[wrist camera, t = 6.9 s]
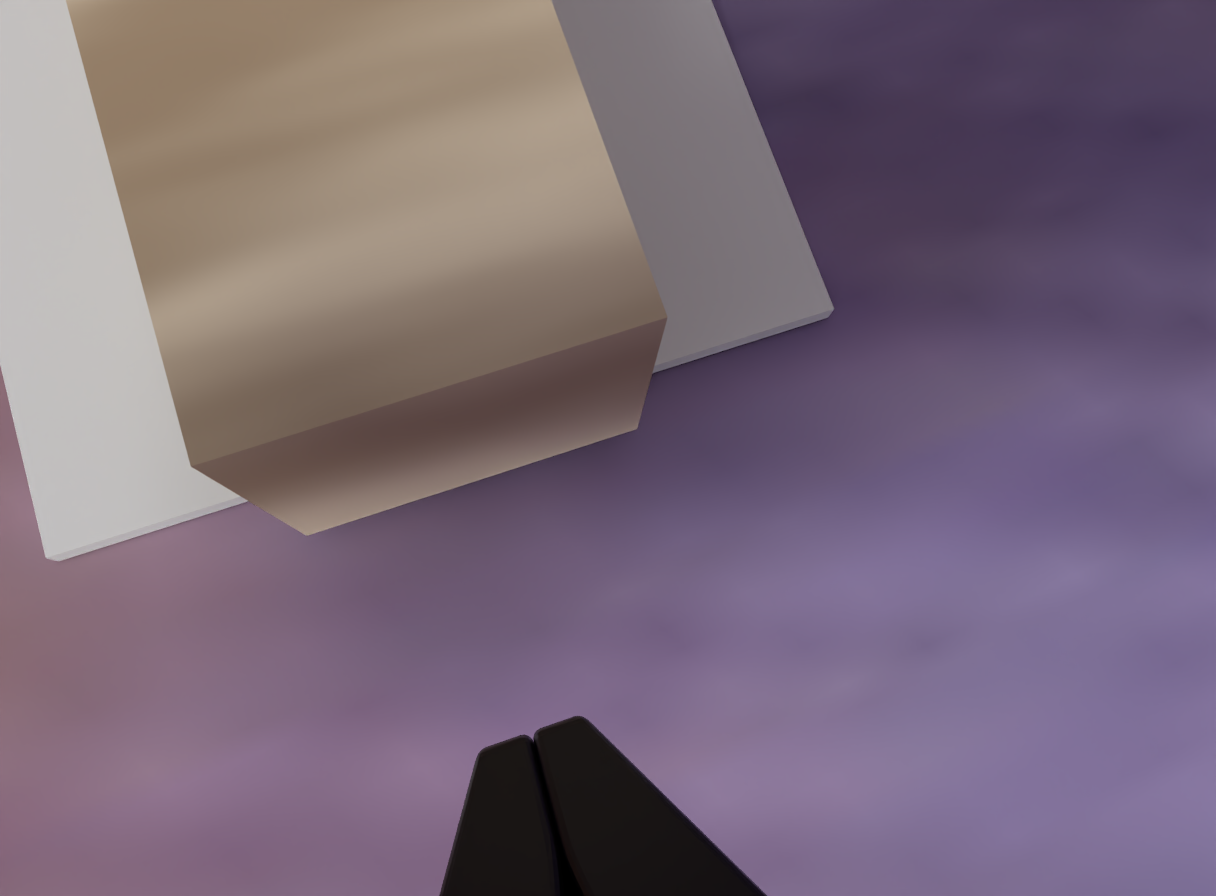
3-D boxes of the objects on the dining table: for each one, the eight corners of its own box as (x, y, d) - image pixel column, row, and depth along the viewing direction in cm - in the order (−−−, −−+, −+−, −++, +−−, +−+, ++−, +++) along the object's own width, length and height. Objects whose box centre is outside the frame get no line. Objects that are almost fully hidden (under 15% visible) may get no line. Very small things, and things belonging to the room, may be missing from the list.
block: (668, 317, 11) (341, -574, 14) (191, 467, 11) (-66, -486, 13) (637, 429, 16) (399, -243, 19) (306, 536, 16) (104, -169, 18)
